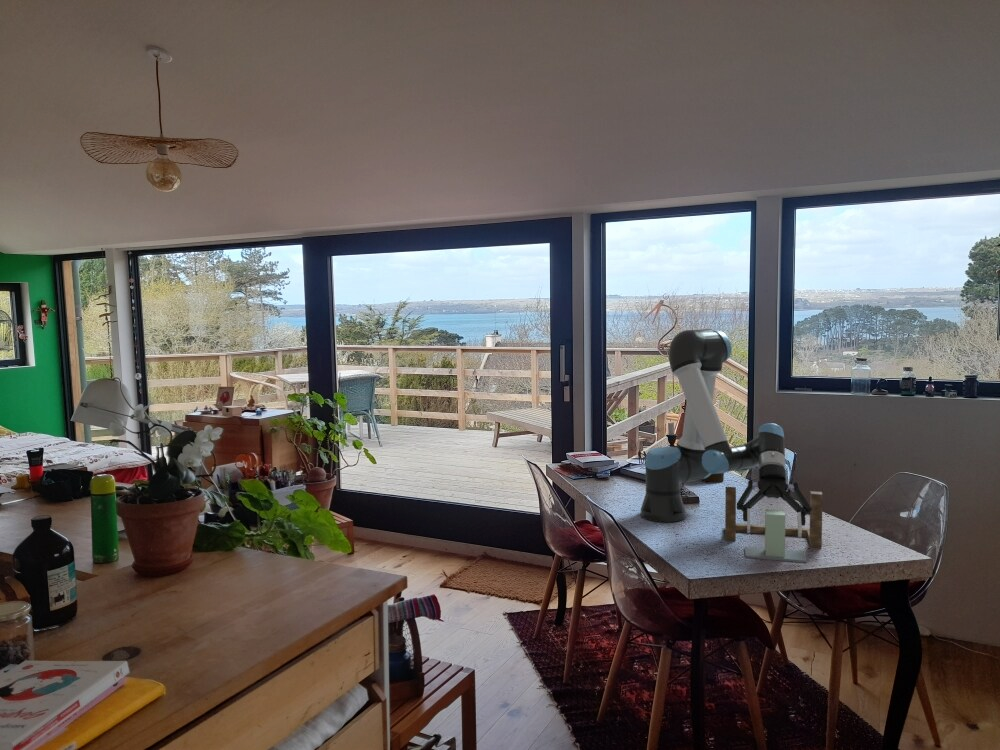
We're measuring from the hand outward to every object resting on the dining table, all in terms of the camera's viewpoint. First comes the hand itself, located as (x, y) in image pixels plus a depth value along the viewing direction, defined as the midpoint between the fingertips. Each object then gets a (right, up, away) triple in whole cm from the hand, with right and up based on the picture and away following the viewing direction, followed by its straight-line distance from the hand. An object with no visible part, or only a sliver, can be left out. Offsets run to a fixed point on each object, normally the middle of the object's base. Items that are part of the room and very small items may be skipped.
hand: (774, 533), depth 195 cm
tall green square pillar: (+1, -6, +2) cm, 6 cm away
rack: (+6, -5, +17) cm, 19 cm away
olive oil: (+11, +1, +93) cm, 93 cm away
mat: (+1, -7, +2) cm, 7 cm away
